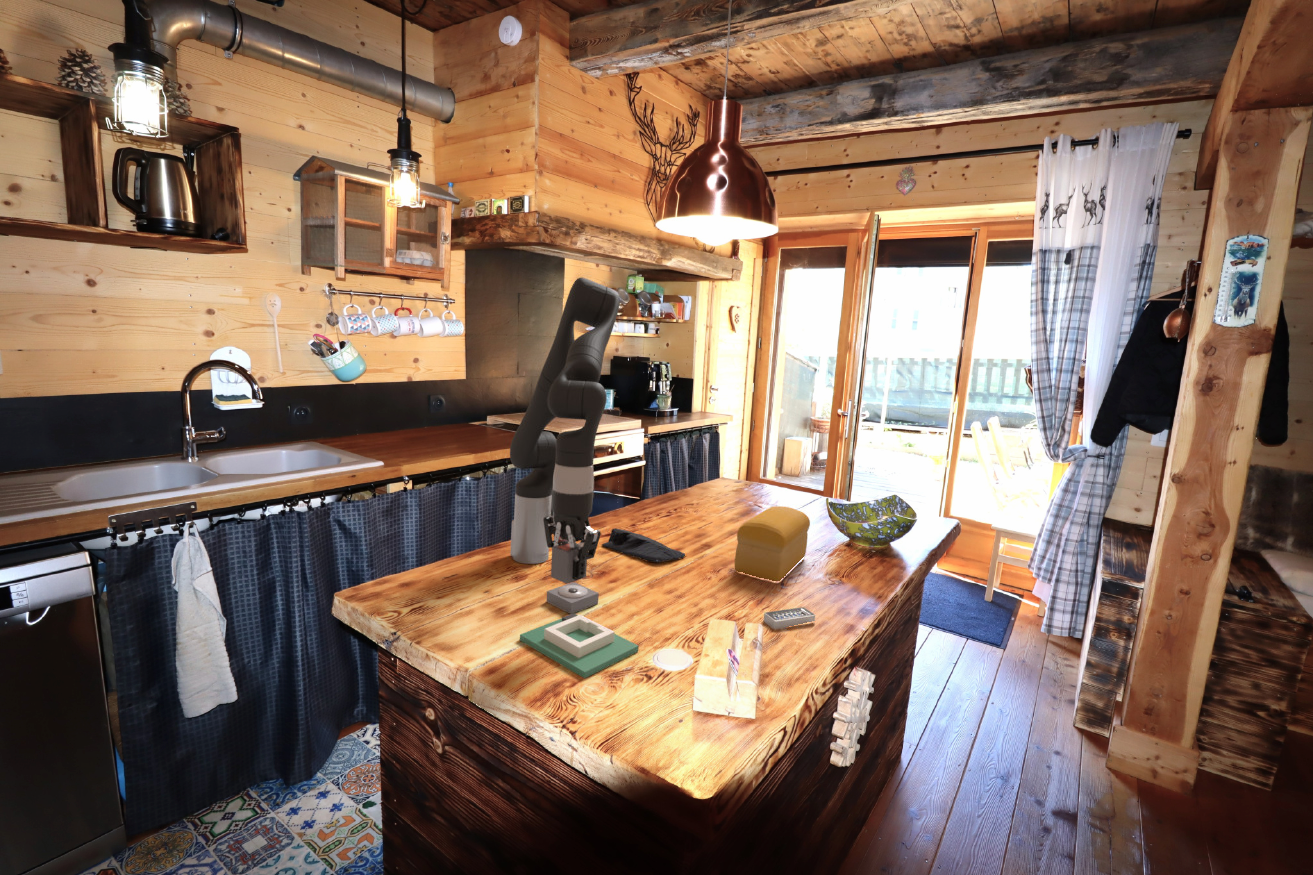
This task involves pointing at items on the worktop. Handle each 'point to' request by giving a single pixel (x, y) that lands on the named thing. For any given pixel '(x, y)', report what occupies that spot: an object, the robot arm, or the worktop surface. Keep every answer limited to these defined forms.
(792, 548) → the bread
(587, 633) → the circuit board
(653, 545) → the dark slate chunk
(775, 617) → the multiport hub
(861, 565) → the worktop surface
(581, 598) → the grey square domed block
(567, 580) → the keyed plug
